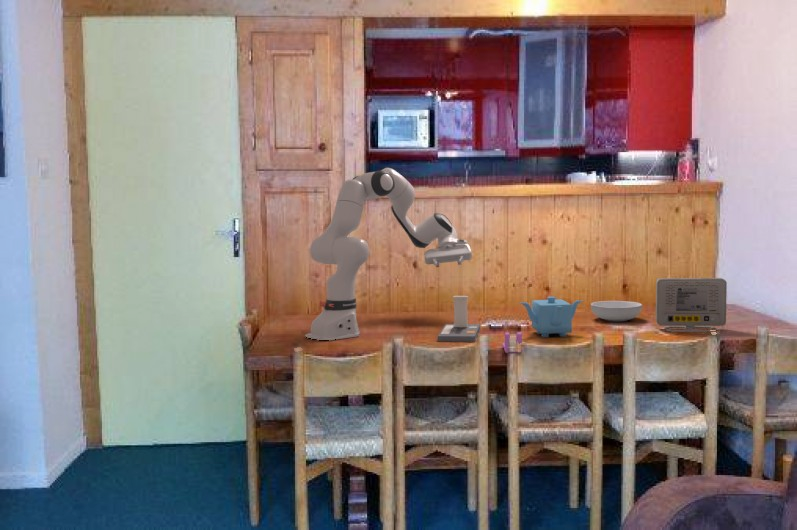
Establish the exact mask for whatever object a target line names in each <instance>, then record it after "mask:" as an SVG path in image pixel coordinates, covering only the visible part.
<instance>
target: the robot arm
mask: <svg viewBox="0 0 797 530" xmlns="http://www.w3.org/2000/svg"><path fill="white" fill-rule="evenodd" d="M415 192H416V191H415V188H414V186H413V184H412V183H410V182H409V181H408V180H407V178H405V177H404V176H403V175H401V173H399V172H397V170H395V169H393V168H392V167H391V168H390V167H385V168H383V169H381V170H376V171H370V172H365V173H362V174H361V175H356V176H355V177H353V178H351V179H347V180H345V181H344V182H343V183H342V185H341V188H340V190H339V193H338V195H337V199H336V202H335V206H334V211H333V214H332V218H331V220H330V223H329V224H328V225H327V227H326V229H325V230H324V231H323V232H322V234H320V235H319V236H318V237H316V238H314V239H313V241H312V242H311V243H310V248H309V253H310V257H311V258H312V260H313V261H314V262H316V263H320V264H322V265H323V264H325V265H337V267H336V271H335V273H333V274H332V275H331V276H329V277H328V278H327V281H326V298H327V299H326V301H322V300H321V301H319V307H323V310H322V311H321V312H320V313H319V314H318V315H317V316H316V318H314V319H313V320H312V322H311V326H310V333H306V334H305V335H304V337H305V336H306V337H308V338H311V339H310V340H312V339H317V340H316V341H319V340H329V341H335V339H336V340H343V339H349V338H355V337H359V336H360V334H361V331H360V328H359V323H358V319H357V312H356V309H357V298H356V296H355V295H356V291H355V289H356V287H355V286H356V278H357V275H358V271H359V270H360V268H361V266H362V265H364V264H365V262H367V260H368V258H369V256H370V252H371V251H370V247H369V243H368V242H367V240H365V239H363V238H359V237H356V236H355V237H354V236H349V235H350V234H351V233H353V232H354V231H356V230H357V229H359V226H360V224H361V219H362V214H363V210H364V205H365V201H366V200H367V201H368V200H376V199H379V198H381V197H383V198H384V197H386V198H387V199H389V201H390V202H391V207H390V209H391V212H392V214H393V216H394V218H395V219H396V221H397V222H398V223H399V225H400V226H401V227H402V229H403V230H404V232H405V233H406V234H407V236H408V237H409V239H410V241H411V242H412V245H414V247H416V248H418V249H425V248H427V247H428V246H429V245H430V244H431V243H433V242H434V241H435V240H437V242H438V243H437V248H431V249H427V250H426V251H424V254H423V255H424V263H425V265H434V266H435V268H439V267H440V264H444V263H445V264H446V263H452V262H454V263H455V262H457V266H461V265H462V263H463V262H464V261H470V260H472V259H473V255H472V249H471V247H470V245H469V243H468V241H467V239H460V238H459V237H458V232H457V230H456V228H455V227H454V226H453V224H452V222H451V221H450V219H449V218H448V217H447V216H446V215H445V214H442V213H440V212H439V213H438V212H435V213H433V214H431V215H430V216H428V217H427V218H426V219H425V220H423V221H422V222H421V223H419V224H418V225H414V224H413V223H412V220H410V218H409V216H408V215H407V213H408V211H409V210H410V208H411V206H412V205H413V204H414V201H415V197H416V193H415ZM306 337H305V338H306ZM308 338H307V339H308Z"/></svg>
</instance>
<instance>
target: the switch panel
mask: <svg viewBox="0 0 797 530" xmlns="http://www.w3.org/2000/svg"><path fill="white" fill-rule="evenodd" d="M480 331H481V323H467V327H454V323H445V324H444V326H443V328H442V329H441V330H440V331H439V333H438V335H437V342H458V343H459V342H460V343H461V342H464V343H465V342H471V343H472V342H474V343H475V342H476V339H477V337H478V335H479V333H480Z"/></svg>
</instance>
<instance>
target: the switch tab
mask: <svg viewBox="0 0 797 530" xmlns="http://www.w3.org/2000/svg"><path fill="white" fill-rule="evenodd" d="M468 299H469V296H468V295H453V296H452V301H453V318H454V321H453V324H454V327H467V324H468Z"/></svg>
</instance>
